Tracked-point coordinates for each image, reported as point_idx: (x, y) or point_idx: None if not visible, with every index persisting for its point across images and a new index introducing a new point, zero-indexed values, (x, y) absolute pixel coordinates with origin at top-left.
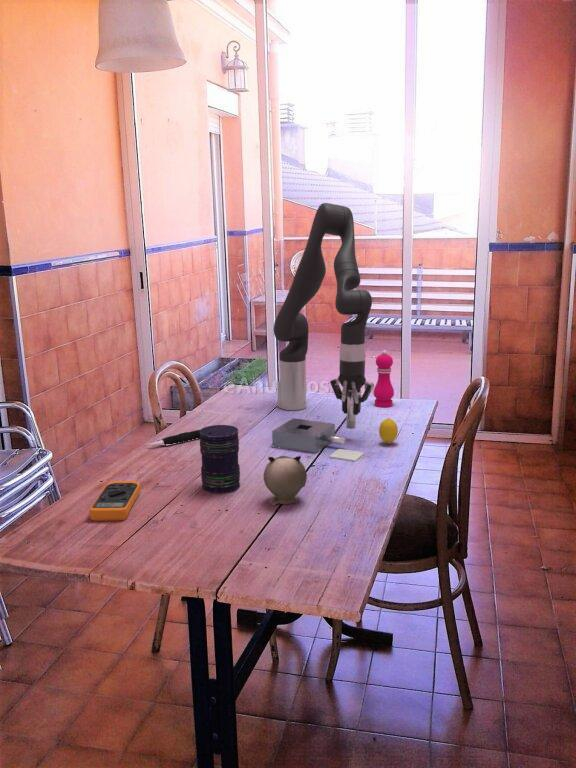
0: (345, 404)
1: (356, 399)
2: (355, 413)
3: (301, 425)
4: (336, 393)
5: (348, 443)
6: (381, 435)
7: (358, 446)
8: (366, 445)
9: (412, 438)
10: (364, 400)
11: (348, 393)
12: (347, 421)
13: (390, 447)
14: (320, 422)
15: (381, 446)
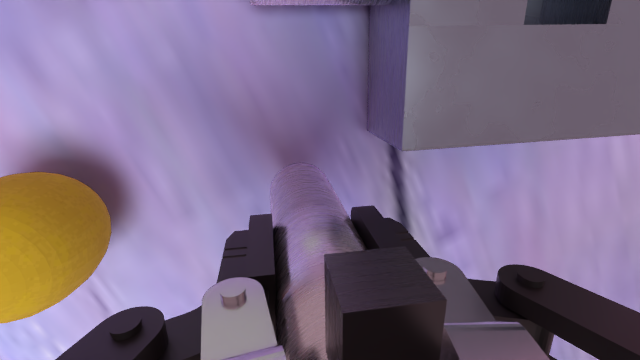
0: (383, 247)
1: (234, 318)
2: (255, 218)
3: (596, 25)
4: (596, 313)
5: (275, 106)
6: (58, 177)
7: (199, 83)
8: (168, 121)
9: (22, 334)
10: (83, 339)
11: (368, 298)
12: (319, 179)
13: (24, 154)
14: (497, 132)
15: (82, 145)
